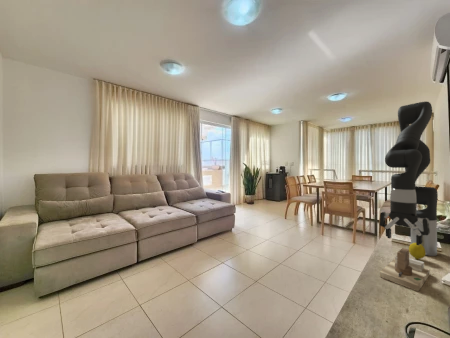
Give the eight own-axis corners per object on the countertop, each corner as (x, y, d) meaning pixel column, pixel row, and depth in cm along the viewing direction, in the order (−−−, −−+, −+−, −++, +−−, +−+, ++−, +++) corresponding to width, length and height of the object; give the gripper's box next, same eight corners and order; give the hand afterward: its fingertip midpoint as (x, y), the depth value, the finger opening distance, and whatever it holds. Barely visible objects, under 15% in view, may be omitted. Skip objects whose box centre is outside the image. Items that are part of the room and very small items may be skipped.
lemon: (429, 262, 86) (428, 245, 86) (414, 261, 87) (414, 244, 87) (419, 256, 92) (419, 240, 91) (405, 256, 93) (405, 239, 93)
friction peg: (397, 266, 79) (397, 246, 79) (414, 271, 75) (414, 250, 75) (391, 273, 75) (390, 252, 75) (408, 279, 70) (408, 257, 70)
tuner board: (394, 263, 86) (394, 253, 86) (429, 274, 77) (429, 263, 77) (379, 276, 76) (379, 265, 76) (418, 291, 67) (418, 278, 67)
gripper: (431, 201, 71) (431, 244, 71) (383, 197, 83) (383, 234, 83) (426, 204, 67) (426, 249, 67) (377, 198, 79) (377, 237, 79)
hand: (403, 241), depth 75 cm, fingers open, 8 cm apart
